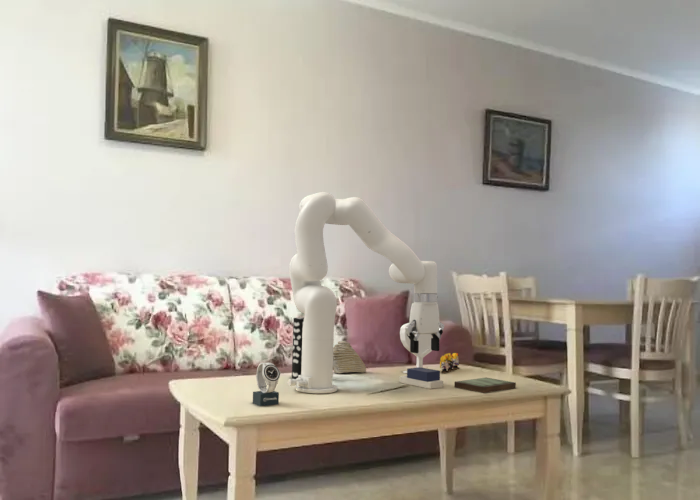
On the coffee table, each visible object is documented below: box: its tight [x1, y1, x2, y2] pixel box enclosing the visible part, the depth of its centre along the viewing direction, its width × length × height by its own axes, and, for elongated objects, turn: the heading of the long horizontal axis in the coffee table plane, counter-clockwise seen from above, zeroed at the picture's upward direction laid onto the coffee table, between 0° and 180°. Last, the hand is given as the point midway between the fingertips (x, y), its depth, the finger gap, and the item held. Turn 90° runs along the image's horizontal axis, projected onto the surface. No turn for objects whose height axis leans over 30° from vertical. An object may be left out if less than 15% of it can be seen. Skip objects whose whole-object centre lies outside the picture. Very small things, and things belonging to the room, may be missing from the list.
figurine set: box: [439, 352, 461, 374], centre depth 253 cm, size 3×16×7 cm, turn 151°
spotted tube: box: [291, 317, 304, 379], centre depth 227 cm, size 8×8×20 cm
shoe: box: [398, 367, 444, 390], centre depth 220 cm, size 14×6×5 cm, turn 40°
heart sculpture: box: [399, 322, 441, 374], centre depth 248 cm, size 16×5×18 cm, turn 117°
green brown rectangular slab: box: [454, 377, 517, 394], centre depth 217 cm, size 16×12×2 cm
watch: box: [252, 361, 282, 407], centre depth 183 cm, size 6×8×11 cm
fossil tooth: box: [333, 340, 367, 375], centre depth 241 cm, size 12×6×15 cm
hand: (424, 351), depth 219 cm, fingers open, 9 cm apart
